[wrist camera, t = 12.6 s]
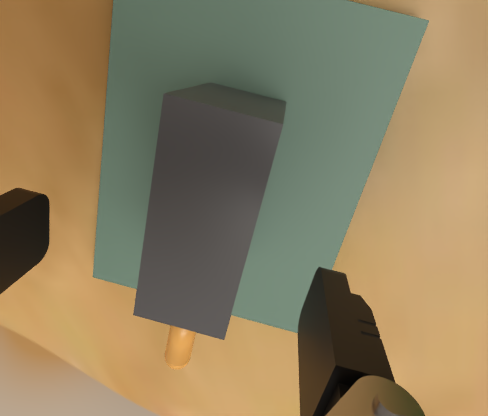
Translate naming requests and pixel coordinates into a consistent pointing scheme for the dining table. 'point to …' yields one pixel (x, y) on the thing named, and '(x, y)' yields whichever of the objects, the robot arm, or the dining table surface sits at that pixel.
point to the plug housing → (204, 208)
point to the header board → (292, 135)
